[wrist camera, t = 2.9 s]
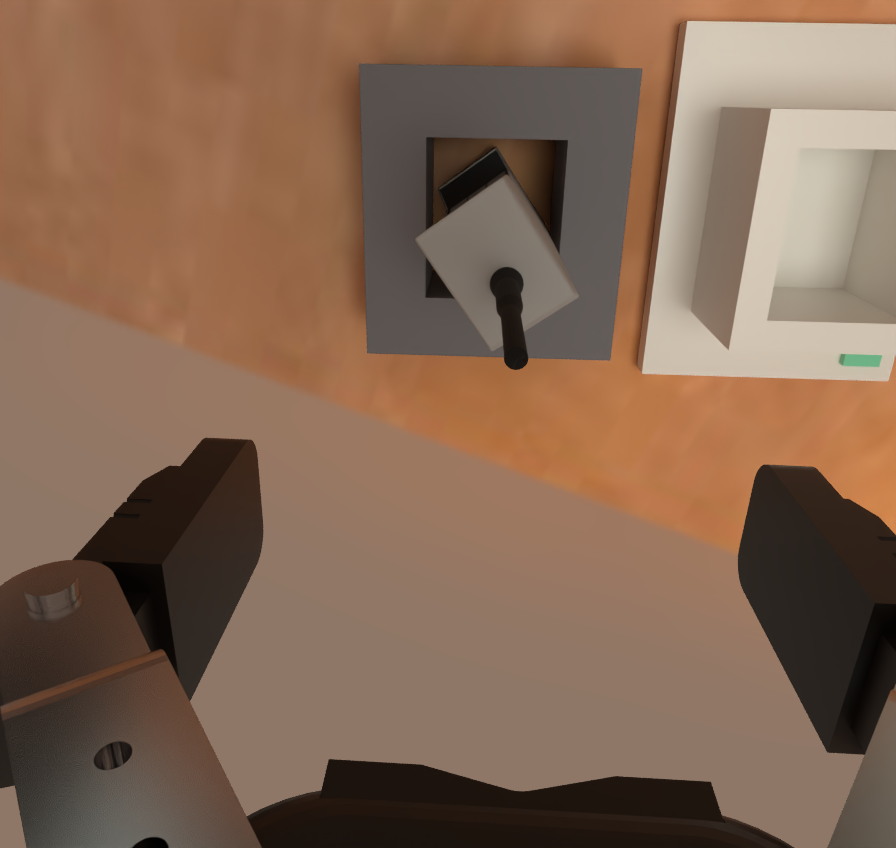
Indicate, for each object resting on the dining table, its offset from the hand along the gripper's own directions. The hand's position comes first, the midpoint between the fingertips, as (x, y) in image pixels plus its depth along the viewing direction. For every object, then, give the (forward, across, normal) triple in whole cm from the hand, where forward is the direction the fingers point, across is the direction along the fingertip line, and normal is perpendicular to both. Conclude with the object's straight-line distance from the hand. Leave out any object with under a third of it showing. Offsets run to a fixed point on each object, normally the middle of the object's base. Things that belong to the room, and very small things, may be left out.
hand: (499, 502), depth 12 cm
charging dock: (+32, -16, -1) cm, 36 cm away
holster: (+32, 0, 0) cm, 32 cm away
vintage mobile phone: (+32, 0, 0) cm, 32 cm away
